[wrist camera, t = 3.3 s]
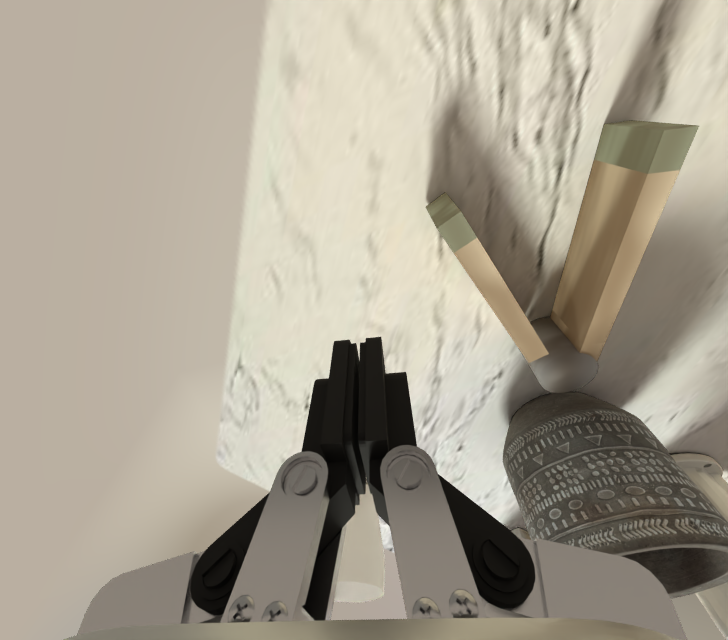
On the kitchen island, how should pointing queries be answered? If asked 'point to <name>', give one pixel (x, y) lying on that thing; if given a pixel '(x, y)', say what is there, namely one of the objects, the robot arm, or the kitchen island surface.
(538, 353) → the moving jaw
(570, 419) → the planter
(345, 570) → the cup
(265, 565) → the robot arm
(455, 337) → the kitchen island surface
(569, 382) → the tongs base
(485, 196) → the kitchen island surface
